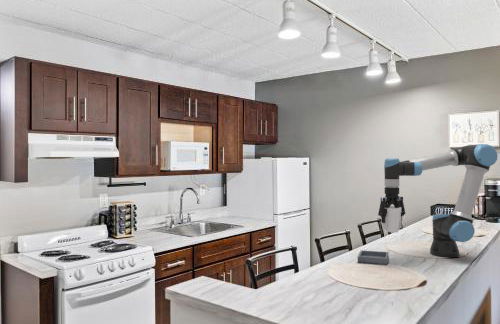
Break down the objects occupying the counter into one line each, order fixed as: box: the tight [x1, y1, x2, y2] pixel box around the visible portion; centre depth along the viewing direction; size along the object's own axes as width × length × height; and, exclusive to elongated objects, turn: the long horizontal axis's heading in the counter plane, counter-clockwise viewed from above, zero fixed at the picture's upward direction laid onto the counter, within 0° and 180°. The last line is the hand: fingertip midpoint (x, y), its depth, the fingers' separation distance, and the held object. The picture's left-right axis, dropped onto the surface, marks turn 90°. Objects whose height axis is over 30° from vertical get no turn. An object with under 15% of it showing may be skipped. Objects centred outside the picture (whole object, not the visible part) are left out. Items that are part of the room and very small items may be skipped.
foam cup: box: [385, 205, 402, 233], centre depth 208 cm, size 10×9×13 cm
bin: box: [357, 250, 390, 266], centre depth 212 cm, size 15×15×4 cm
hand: (392, 228), depth 208 cm, fingers closed on foam cup, 9 cm apart
